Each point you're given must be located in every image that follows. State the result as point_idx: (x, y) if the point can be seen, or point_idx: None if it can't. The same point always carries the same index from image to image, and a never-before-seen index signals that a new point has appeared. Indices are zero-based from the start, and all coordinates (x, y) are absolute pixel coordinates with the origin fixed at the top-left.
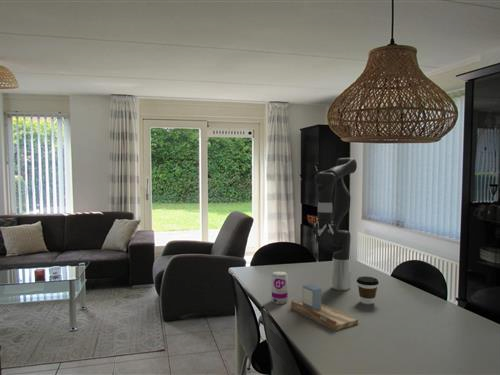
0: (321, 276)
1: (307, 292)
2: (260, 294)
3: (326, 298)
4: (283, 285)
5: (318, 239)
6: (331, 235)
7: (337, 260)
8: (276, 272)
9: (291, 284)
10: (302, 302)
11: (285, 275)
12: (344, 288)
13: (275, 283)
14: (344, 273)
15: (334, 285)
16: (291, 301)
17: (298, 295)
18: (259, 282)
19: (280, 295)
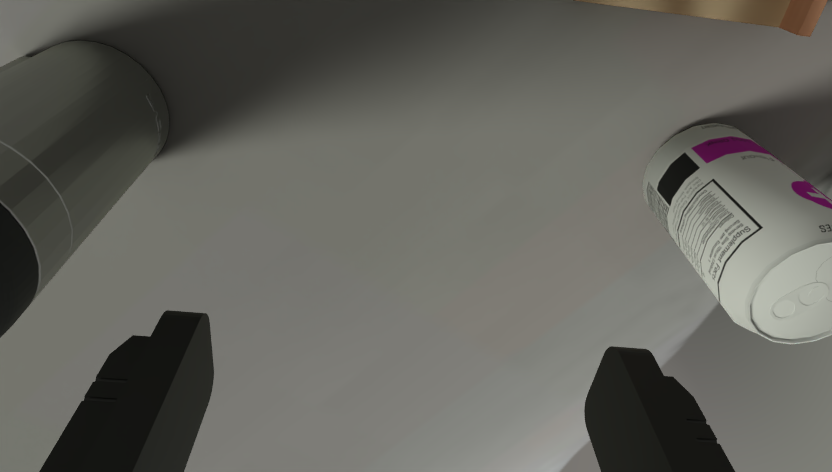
0: (67, 348)
1: None
2: (653, 321)
3: (386, 8)
4: (802, 184)
5: (684, 427)
6: (146, 449)
7: (27, 219)
8: (800, 326)
9: (364, 344)
10: (690, 8)
11: (821, 234)
12: (103, 50)
13: None
14: (33, 96)
15: (159, 128)
16: (809, 31)
17: (498, 182)
18: (487, 446)
19: (775, 157)
